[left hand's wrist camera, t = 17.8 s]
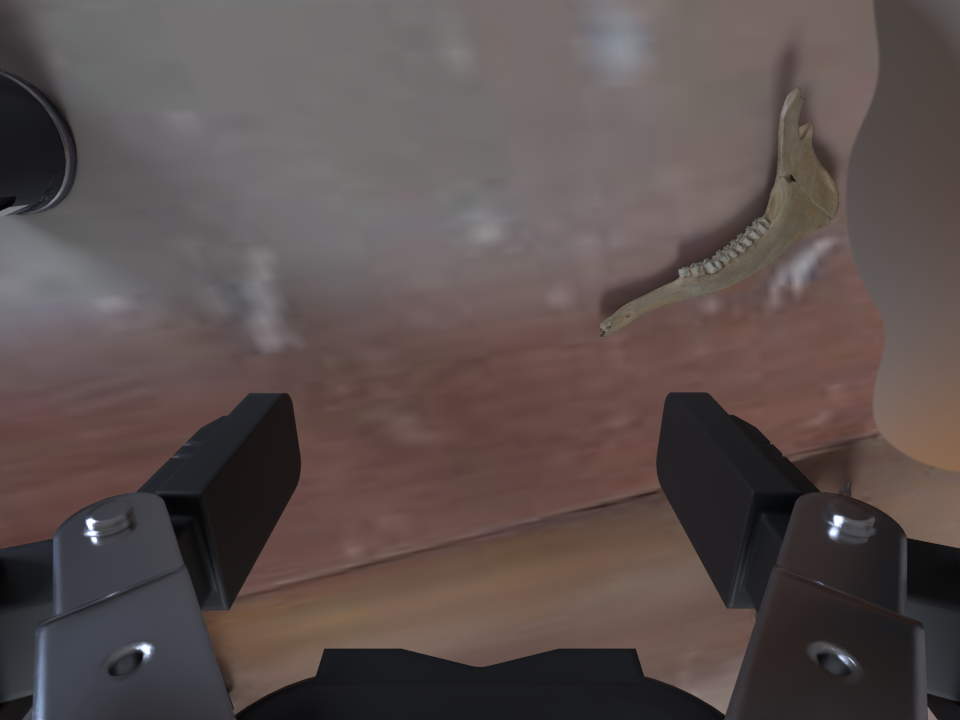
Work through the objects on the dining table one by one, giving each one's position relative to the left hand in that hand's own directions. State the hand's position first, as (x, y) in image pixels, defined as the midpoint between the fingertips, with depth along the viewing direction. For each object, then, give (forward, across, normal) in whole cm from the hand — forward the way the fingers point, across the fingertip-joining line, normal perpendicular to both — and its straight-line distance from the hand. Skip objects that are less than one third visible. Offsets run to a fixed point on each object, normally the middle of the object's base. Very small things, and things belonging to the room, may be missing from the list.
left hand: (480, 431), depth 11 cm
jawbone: (+30, +16, +1) cm, 34 cm away
